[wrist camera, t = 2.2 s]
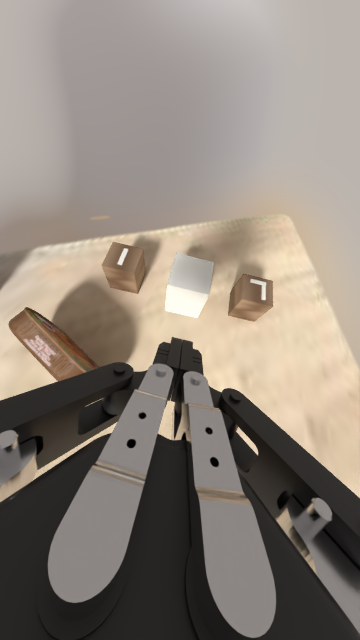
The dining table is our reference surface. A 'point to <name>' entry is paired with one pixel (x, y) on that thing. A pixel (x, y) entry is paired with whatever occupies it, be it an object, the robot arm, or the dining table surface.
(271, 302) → the walnut block
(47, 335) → the tin
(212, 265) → the plain block
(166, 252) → the dining table surface
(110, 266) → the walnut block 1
